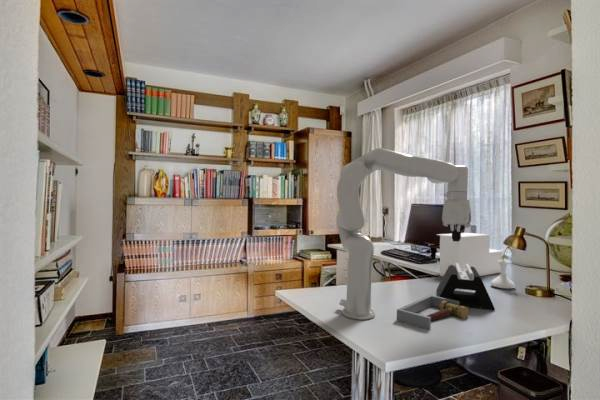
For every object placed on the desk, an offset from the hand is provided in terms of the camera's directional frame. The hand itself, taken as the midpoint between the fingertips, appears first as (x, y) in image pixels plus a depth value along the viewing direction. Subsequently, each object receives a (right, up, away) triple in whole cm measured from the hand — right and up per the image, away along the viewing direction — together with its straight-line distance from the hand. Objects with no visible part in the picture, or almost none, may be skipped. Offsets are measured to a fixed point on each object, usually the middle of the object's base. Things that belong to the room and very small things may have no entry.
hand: (456, 241), depth 141 cm
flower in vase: (+44, -30, +41) cm, 67 cm away
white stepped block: (+41, -29, +75) cm, 91 cm away
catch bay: (-13, -29, -4) cm, 32 cm away
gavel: (-9, -30, -6) cm, 32 cm away
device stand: (+11, -30, +18) cm, 36 cm away
